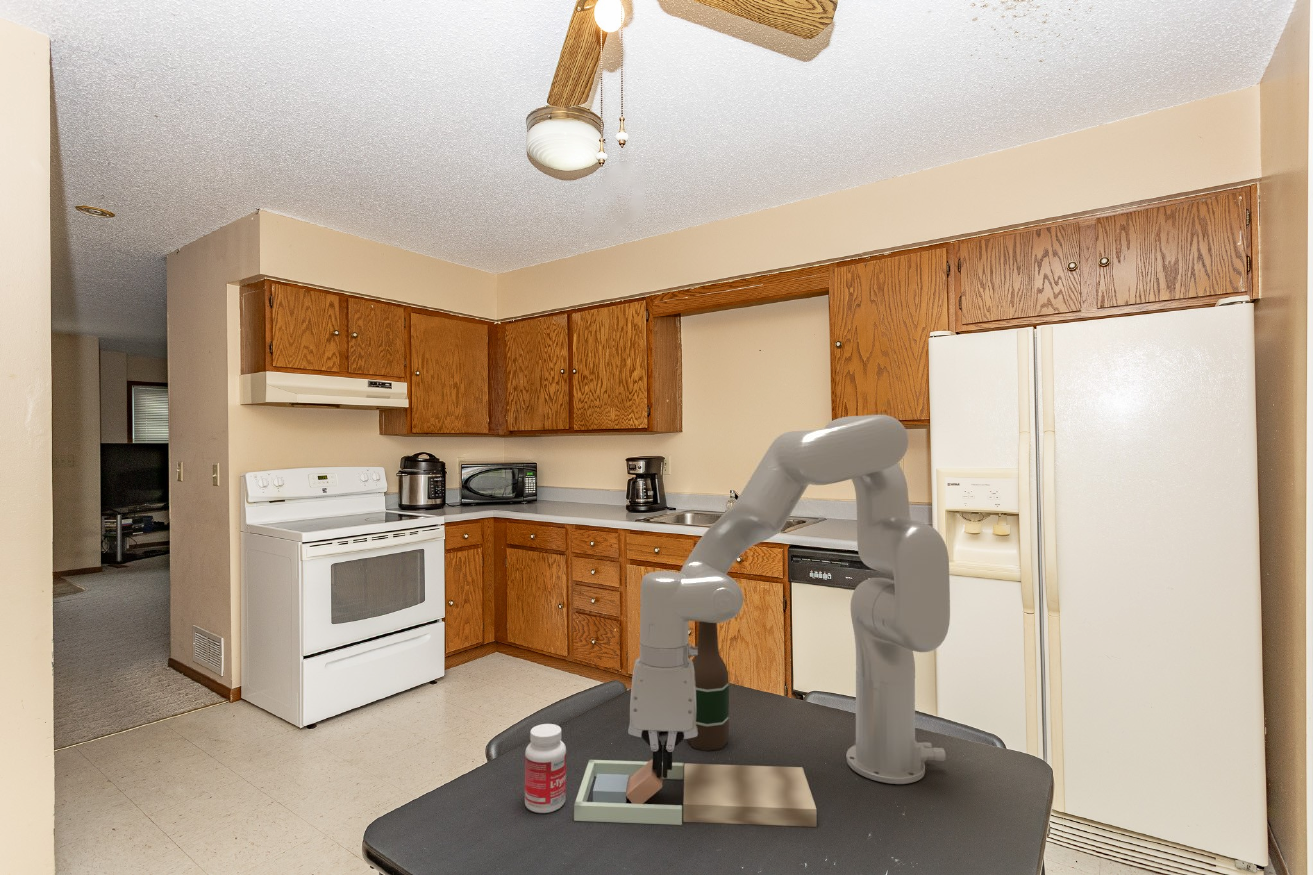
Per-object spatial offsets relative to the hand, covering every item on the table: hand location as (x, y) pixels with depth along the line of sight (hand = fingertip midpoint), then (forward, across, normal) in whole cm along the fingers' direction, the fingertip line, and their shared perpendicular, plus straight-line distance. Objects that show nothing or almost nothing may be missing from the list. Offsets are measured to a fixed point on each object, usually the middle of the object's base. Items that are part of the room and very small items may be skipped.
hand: (662, 773), depth 99 cm
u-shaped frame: (+4, +5, 0) cm, 6 cm away
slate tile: (+2, +8, 0) cm, 8 cm away
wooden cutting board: (+4, -13, 0) cm, 13 cm away
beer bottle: (+4, -8, -20) cm, 22 cm away
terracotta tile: (+2, +2, 0) cm, 3 cm away
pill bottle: (+4, +18, +2) cm, 18 cm away
